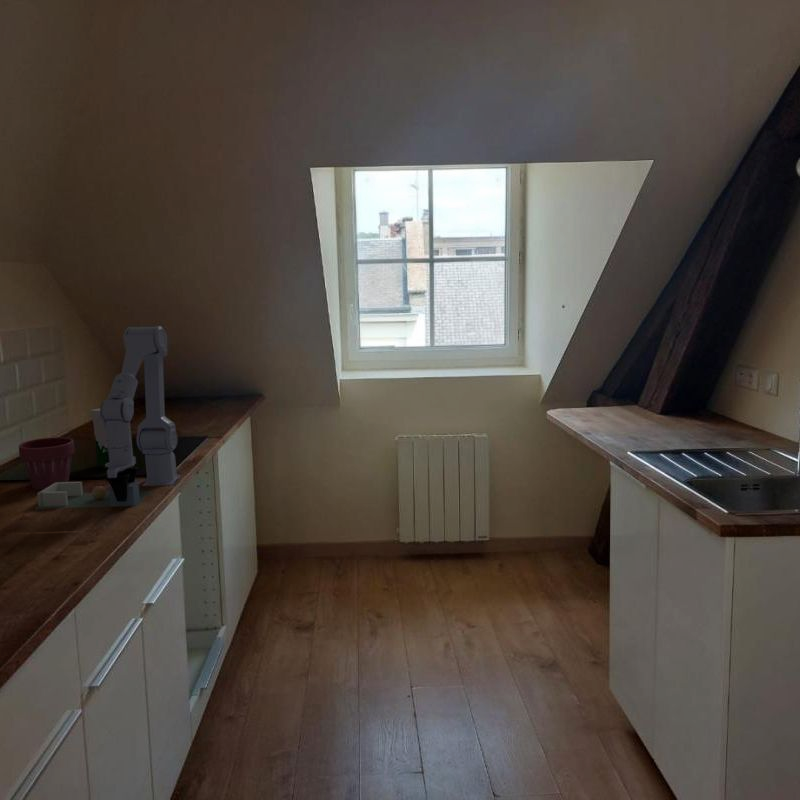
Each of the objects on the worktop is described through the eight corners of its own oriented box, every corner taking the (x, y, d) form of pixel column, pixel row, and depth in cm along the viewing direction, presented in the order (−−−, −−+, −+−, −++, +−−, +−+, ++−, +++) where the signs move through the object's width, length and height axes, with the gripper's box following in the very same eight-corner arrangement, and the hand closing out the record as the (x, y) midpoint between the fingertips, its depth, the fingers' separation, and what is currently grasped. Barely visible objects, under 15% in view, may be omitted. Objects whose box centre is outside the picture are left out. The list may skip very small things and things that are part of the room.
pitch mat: (56, 495, 204) (56, 494, 204) (153, 492, 204) (152, 491, 204) (33, 510, 191) (33, 508, 191) (136, 507, 191) (136, 505, 191)
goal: (56, 495, 203) (55, 482, 203) (83, 494, 203) (81, 481, 203) (38, 506, 193) (37, 493, 193) (66, 505, 193) (64, 492, 193)
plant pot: (80, 488, 211) (75, 443, 209) (24, 496, 205) (19, 450, 203) (75, 477, 224) (71, 434, 222) (22, 484, 217) (17, 440, 215)
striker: (116, 501, 195) (114, 482, 194) (139, 501, 195) (138, 482, 194) (110, 506, 191) (108, 487, 190) (134, 505, 191) (132, 486, 190)
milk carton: (109, 470, 231) (103, 405, 228) (92, 466, 236) (85, 403, 233) (134, 464, 238) (128, 401, 235) (116, 460, 243) (111, 399, 240)
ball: (95, 497, 200) (94, 484, 199) (108, 496, 200) (107, 484, 199) (90, 501, 196) (89, 488, 196) (103, 500, 196) (102, 487, 196)
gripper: (114, 440, 198) (119, 490, 200) (92, 453, 184) (98, 507, 186) (141, 439, 198) (146, 490, 200) (121, 452, 184) (126, 506, 186)
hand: (124, 498), depth 193 cm, fingers closed on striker, 4 cm apart
